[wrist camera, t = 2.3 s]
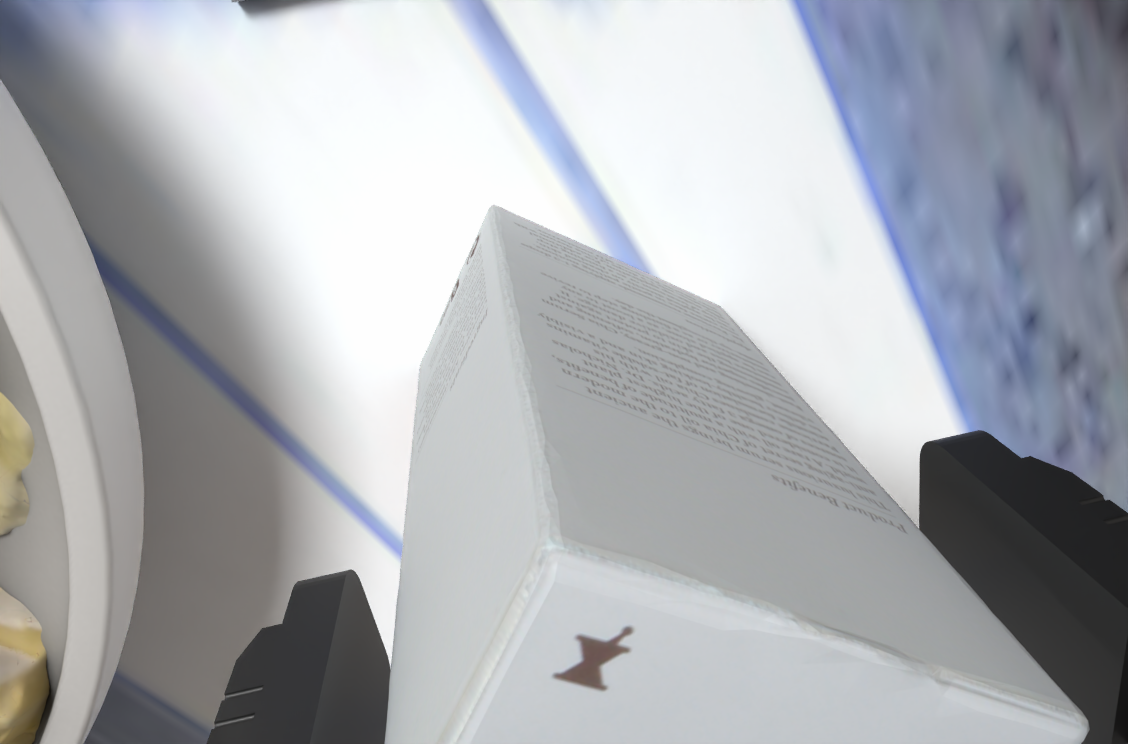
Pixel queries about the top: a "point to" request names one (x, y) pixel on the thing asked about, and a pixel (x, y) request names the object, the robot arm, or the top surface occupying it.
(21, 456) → the bowl
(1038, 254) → the top surface
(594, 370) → the skincare box
